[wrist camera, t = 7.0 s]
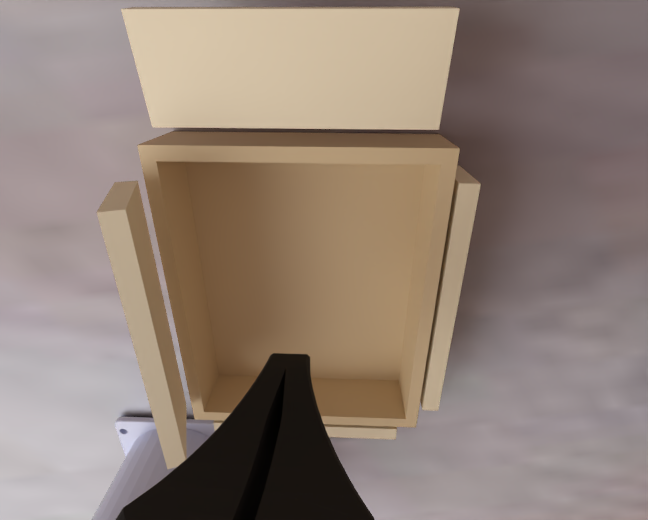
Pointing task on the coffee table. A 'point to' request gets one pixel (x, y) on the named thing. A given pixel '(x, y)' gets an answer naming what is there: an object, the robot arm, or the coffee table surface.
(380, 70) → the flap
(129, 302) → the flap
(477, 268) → the coffee table surface
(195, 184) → the carton
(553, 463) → the coffee table surface
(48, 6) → the coffee table surface
